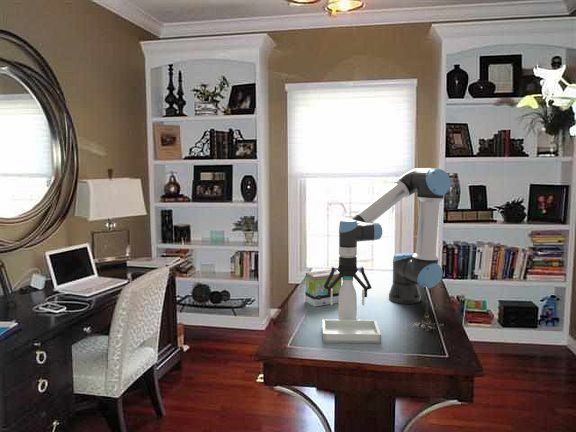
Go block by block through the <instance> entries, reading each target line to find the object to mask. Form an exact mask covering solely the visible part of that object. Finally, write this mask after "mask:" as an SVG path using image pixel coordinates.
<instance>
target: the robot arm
mask: <svg viewBox="0 0 576 432" xmlns="http://www.w3.org/2000/svg"><path fill="white" fill-rule="evenodd" d="M450 189H451V179H450V176H449V174H448V172H447V171H445V170H443V169H441V168H436V167H434V168H433V167H416V168H413V169H410V170H409V171H407V172H405V173H404V174H403V175H401V176H400V177H398V178H397V179H396V180H395V181H394V182H393V185H392V186H390V187H389V188H388V189H387V190H386V191H384V192H383V193H382V194H380V195H379V196H378V197H377V198H375V199H374V200H373V201H372V202H370V203H369V204H368V205H367V206H365V207H364V208H363V209H362V210H360V211H359V212H358V213H357V214H355V215H354V216H353V217H352V218H351V217H350V218H345V219H341V220H340V221H339V225H338V237H339V238H338V255H339V257H338V267H335V266H334V265H333V266H331V269H330V270H331V273H330V274H329V276H328V278H327V280H326V282H325V284H324V288H325V289H328V297H331V304H330V306H333V290H332V287H333V286H334V285H335V284H336V283H337V282H338V281H339V280H340V279H341V278H342V277H343V276H353V279H355V281H357V283H358V284H359V285H360V286H361V287H362V289H361V306H365V298H368V290H371V289H372V285H371V284H370V281H369V279H368V277H367V275H366V273H365V268H364V266H359V267H358V264H357V263H358V261H357V255H358V252H357V249H358V243H359V242H369V241H377V240H380V239H381V238H382V237H383V227H382V225H381V224H380V223H378V222H375V221H376V220H378V219H379V218H380V217H381V216H382V215H384V214H385V213H386V212H387V211H389V210H390V209H392V208H393V206H395V205H396V204H398V202H400V201H401V200H402V199H404V198H408V197H410V196H411V195H414V194H417V195H416V197H417V199H418V201H419V209H418V210H419V211H418V221H417V222H418V223H417V235H416V248H415V252H402V253H401V252H400V253H396V254H394V255H393V257H392V259H393V260H392V284H391V287H390V290H389V293H388V300H389V301H390V302H394V303H396V304H404V305H412V304H418V303H420V302H421V293H420V290H419V287H418V286H420V287H422V288H423V287H424V288H427V289H428V288H429V289H430V288H433V287H436V286H437V285H438V284H439V283H440V282H441V280H442V279H443V273H444V272H443V268H442V267H441V265H440V264H439V257H438V256H437V255H436V250H437V239H438V238H437V237H438V236H437V235H438V226H439V225H438V224H439V215H440V204H441V202H442V201H444V198H445V195H446V194H447V193H448V192H449V190H450ZM334 272H338V273H339V274H338V276H337V277H336V278H335V279H334V280H333V282H332V283H331V284H330V285H329V286H328V284H329V282H330V280H331V278H332V277H333V275H334ZM358 272H359V273H360V274H361V275H362V278H363V279H364V281H365V283H366V284H365V283H364V282H363V281H362V280H361V278H360V277H359V276H358V275H357V273H358Z"/></svg>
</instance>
